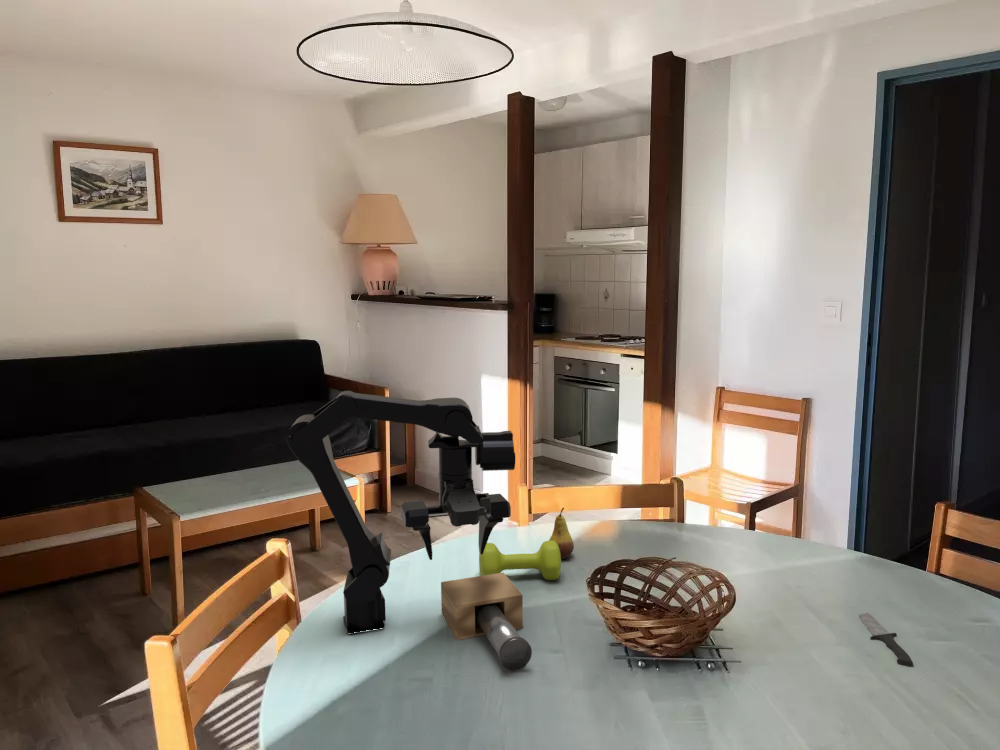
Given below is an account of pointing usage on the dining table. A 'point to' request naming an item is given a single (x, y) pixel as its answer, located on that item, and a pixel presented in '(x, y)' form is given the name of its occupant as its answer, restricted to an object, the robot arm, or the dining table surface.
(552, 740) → the dining table surface
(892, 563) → the dining table surface
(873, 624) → the knife
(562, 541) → the fruit
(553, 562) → the dumbbell
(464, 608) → the housing
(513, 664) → the dark grey metal cylinder
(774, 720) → the dining table surface
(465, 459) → the robot arm
